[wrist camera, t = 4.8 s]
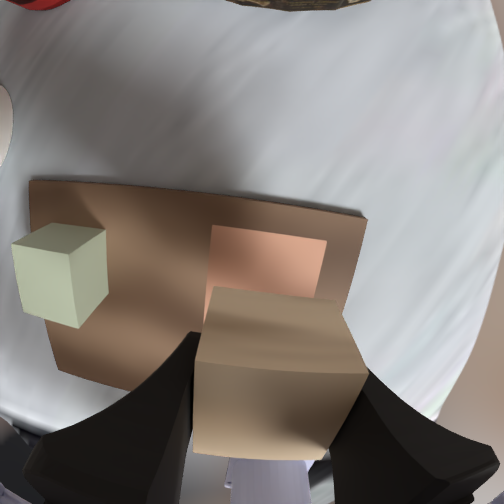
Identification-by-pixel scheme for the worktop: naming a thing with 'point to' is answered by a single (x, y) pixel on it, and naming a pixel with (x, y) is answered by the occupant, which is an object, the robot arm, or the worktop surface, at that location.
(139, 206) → the brown flat board
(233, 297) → the maple brick
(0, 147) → the cylindrical container
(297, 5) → the wood slice
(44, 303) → the sage cube
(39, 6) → the canned food
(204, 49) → the worktop surface
